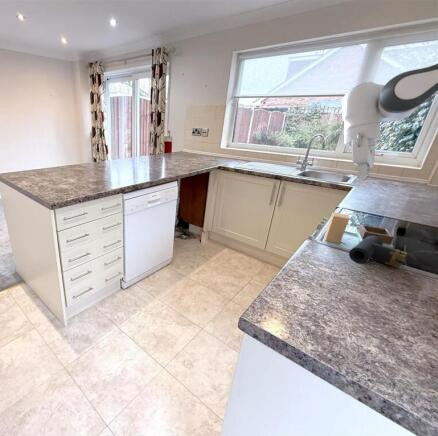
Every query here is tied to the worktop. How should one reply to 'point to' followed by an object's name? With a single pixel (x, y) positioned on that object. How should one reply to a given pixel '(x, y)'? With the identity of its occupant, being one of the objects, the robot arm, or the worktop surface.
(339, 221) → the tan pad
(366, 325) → the worktop surface
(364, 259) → the pipe connector
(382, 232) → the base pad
